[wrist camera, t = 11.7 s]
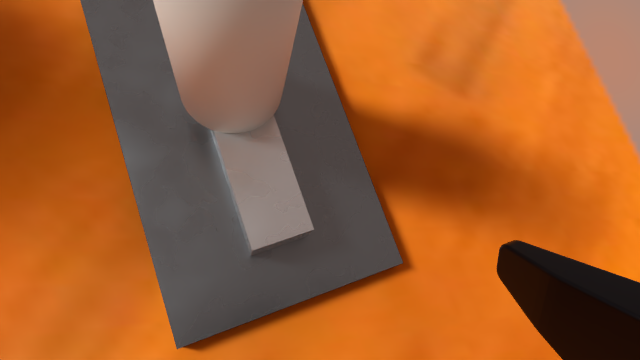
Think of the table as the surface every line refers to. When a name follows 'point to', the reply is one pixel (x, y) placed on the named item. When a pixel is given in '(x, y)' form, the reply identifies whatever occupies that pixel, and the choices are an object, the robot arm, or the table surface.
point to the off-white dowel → (229, 57)
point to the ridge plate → (201, 192)
